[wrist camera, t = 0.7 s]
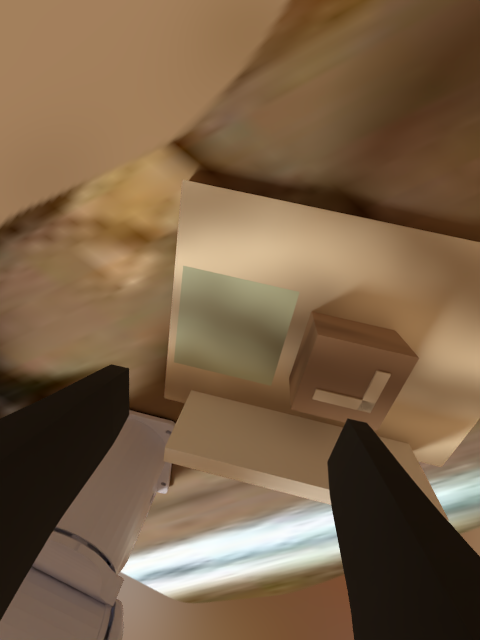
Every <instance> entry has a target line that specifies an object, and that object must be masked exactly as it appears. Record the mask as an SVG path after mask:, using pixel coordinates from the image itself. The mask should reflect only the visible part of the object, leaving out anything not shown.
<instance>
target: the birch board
mask: <svg viewBox="0 0 480 640" xmlns="http://www.w3.org/2000/svg"><path fill="white" fill-rule="evenodd" d="M311 311H312V312H317V313H321V314H325V315H330V316H334V317H339V318H343V319H347V320H352V321H356V322H360V323H365V324H369V325H374V326H378V327H382V328H387V329H391V330H395V331H396V332H397V333H398V334H399V335H400V336H401V337H402V339H403V340H404V341H405V342H406V343H407V344H408V346H409V347H410V348H411V349H412V350H413V351H414V352H415V354H416V355H417V356H418V357H419V360H418V361H417V363H416V365H415V367H414V368H413V370H412V372H411V374H410V375H409V377H408V379H407V380H406V382H405V384H404V386H403V387H402V389H401V391H400V393H399V394H398V396H397V398H396V399H395V401H394V403H393V405H392V406H391V408H390V410H389V412H388V413H387V415H386V417H385V418H384V420H383V422H382V424H381V425H380V427H379V429H378V431H377V430H373V431H374V432H375V433H376V434H377V436H379V437H383V438H387V439H391V440H396V441H400V442H404V443H408V444H409V445H410V447H411V449H412V451H413V453H414V455H415V457H416V458H417V460H418V461H419V462H423V463H427V464H431V465H435V466H439V467H442V466H443V464H444V463H445V462H446V460H447V459H448V458H449V457H450V455H451V454H452V453H453V452H454V450H455V449H456V448H457V447H458V445H459V444H460V443H461V442H462V440H463V439H464V438H465V436H466V435H467V434H468V433H469V431H470V430H471V429H472V428H473V426H474V425H475V424H476V423H477V421H478V420H479V419H480V242H476V241H471V240H467V239H462V238H457V237H452V236H448V235H443V234H438V233H434V232H429V231H424V230H419V229H415V228H410V227H405V226H400V225H396V224H391V223H386V222H381V221H377V220H372V219H367V218H363V217H358V216H353V215H348V214H344V213H339V212H334V211H329V210H325V209H320V208H315V207H311V206H306V205H301V204H296V203H292V202H287V201H282V200H277V199H273V198H268V197H263V196H259V195H254V194H249V193H244V192H240V191H235V190H230V189H225V188H221V187H216V186H211V185H207V184H202V183H197V182H192V181H187V180H182V189H181V201H180V212H179V224H178V236H177V248H176V260H175V272H174V284H173V296H172V308H171V320H170V332H169V343H168V355H167V367H166V379H165V391H164V398H166V399H170V400H174V401H178V402H182V403H186V400H187V398H188V396H189V394H190V392H191V390H192V391H197V392H201V393H205V394H209V395H213V396H217V397H221V398H225V399H229V400H233V401H237V402H241V403H245V404H249V405H253V406H257V407H262V408H266V409H270V410H274V411H278V412H282V413H286V414H290V415H294V416H298V417H302V418H306V419H310V420H314V421H318V422H322V423H327V424H331V425H335V426H339V427H344V425H345V423H344V422H340V421H336V420H332V419H328V418H324V417H320V416H315V415H311V414H307V413H303V412H299V411H295V410H291V405H290V385H289V377H290V374H291V371H292V368H293V365H294V362H295V359H296V356H297V353H298V350H299V347H300V344H301V341H302V338H303V335H304V332H305V329H306V326H307V323H308V320H309V317H310V314H311Z"/></svg>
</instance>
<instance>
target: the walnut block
mask: <svg viewBox="0 0 480 640" xmlns="http://www.w3.org/2000/svg"><path fill="white" fill-rule="evenodd" d="M418 360H419V357H418V356H417V355H416V354H415V352H414V351H413V350H412V349H411V348H410V347H409V346H408V344H407V343H406V342H405V341H404V340H403V339H402V337H401V336H400V335H399V334H398V333H397V332H396V331H395V330H391V329H387V328H382V327H378V326H374V325H369V324H365V323H360V322H356V321H352V320H347V319H343V318H339V317H334V316H330V315H325V314H321V313H317V312H312V311H311V314H310V317H309V320H308V323H307V326H306V329H305V332H304V335H303V338H302V341H301V344H300V347H299V350H298V353H297V356H296V359H295V362H294V365H293V368H292V371H291V374H290V377H289V385H290V405H291V410H295V411H299V412H303V413H307V414H311V415H315V416H320V417H324V418H328V419H332V420H336V421H340V422H344V423H345V422H346V420H347V418H348V419H353V420H357V421H361V422H366V423H367V424H368V425H369V426H370V427H371V428H372V429H373V430H377V431H378V429H379V427H380V425H381V424H382V422H383V420H384V418H385V417H386V415H387V413H388V412H389V410H390V408H391V406H392V405H393V403H394V401H395V399H396V398H397V396H398V394H399V393H400V391H401V389H402V387H403V386H404V384H405V382H406V380H407V379H408V377H409V375H410V374H411V372H412V370H413V368H414V367H415V365H416V363H417V361H418Z"/></svg>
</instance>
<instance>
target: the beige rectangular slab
mask: <svg viewBox="0 0 480 640" xmlns="http://www.w3.org/2000/svg"><path fill="white" fill-rule="evenodd" d="M342 429H343V427H339V426H335V425H331V424H327V423H322V422H318V421H314V420H310V419H306V418H302V417H298V416H294V415H290V414H286V413H282V412H278V411H274V410H270V409H266V408H262V407H257V406H253V405H249V404H245V403H241V402H237V401H233V400H229V399H225V398H221V397H217V396H213V395H209V394H205V393H201V392H197V391H192V390H191V392H190V394H189V396H188V398H187V400H186V403H185V405H184V407H183V409H182V411H181V413H180V416H179V418H178V420H177V422H176V424H175V426H174V429H173V431H172V433H171V435H170V437H169V439H168V442H167V444H166V446H165V450H164V461H165V462H168V463H172V464H176V465H180V466H184V467H188V468H192V469H195V470H199V471H203V472H207V473H211V474H215V475H219V476H222V477H226V478H230V479H234V480H238V481H242V482H246V483H249V484H253V485H257V486H261V487H265V488H269V489H273V490H276V491H280V492H284V493H288V494H292V495H296V496H300V497H303V498H307V499H311V500H315V501H319V502H323V503H327V504H330V505H331V500H330V492H329V481H328V465H327V461H328V459H329V457H330V455H331V453H332V450H333V448H334V446H335V444H336V442H337V440H338V438H339V435H340V433H341V431H342ZM378 437H379V436H378ZM379 438H380V439H381V441H382V442H383V443H384V444H385V446H386V447H387V448H388V449H389V451H390V452H391V453H392V454H393V456H394V457H395V458H396V459H397V461H398V462H399V463H400V464H401V466H402V467H403V468H404V469H405V471H406V472H407V473H408V474H409V476H410V477H411V478H412V479H413V480H414V482H415V483H416V484H417V485H418V487H419V488H420V489H421V490H422V491H423V493H424V494H425V495H426V496H427V497H428V499H429V500H430V501H431V502H432V503H433V504H434V506H435V507H436V508H437V509H438V510H439V512H440V513H441V514H442V515H443V516H444V517H445V518H446V520H447V521H449V520H448V518H447V516H446V514H445V512H444V510H443V508H442V506H441V504H440V502H439V501H438V499H437V497H436V495H435V493H434V491H433V489H432V487H431V485H430V483H429V481H428V479H427V478H426V476H425V474H424V472H423V470H422V468H421V466H420V464H419V462H418V460H417V458H416V457H415V455H414V453H413V451H412V449H411V447H410V445H409V444H408V443H404V442H400V441H396V440H391V439H387V438H383V437H379Z"/></svg>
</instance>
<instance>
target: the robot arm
mask: <svg viewBox="0 0 480 640" xmlns="http://www.w3.org/2000/svg"><path fill="white" fill-rule="evenodd" d="M174 426H175V423H174V422H173V421H170V420H166V419H162V418H159V417H155V416H151V415H147V414H143V413H139V412H135V411H131V410H129V368H125V367H120V366H116V365H109V366H107V367H105V368H103V369H101V370H99V371H97V372H95V373H93V374H91V375H89V376H87V377H85V378H83V379H81V380H79V381H77V382H75V383H73V384H72V385H70V386H68V387H66V388H64V389H62V390H60V391H58V392H56V393H54V394H52V395H50V396H48V397H46V398H44V399H42V400H40V401H38V402H35V403H33V404H31V405H29V406H27V407H25V408H22V409H20V410H18V411H16V412H14V413H12V414H10V415H7V416H5V417H3V418H1V419H0V640H122V637H123V628H124V627H123V625H124V624H123V605H122V602H121V601H120V600H118V599H117V595H118V593H119V590H120V588H121V586H122V583H123V581H124V579H123V578H122V577H120V576H118V574H119V573H120V571H121V570H122V569H123V567H124V566H125V564H126V562H127V561H128V559H129V556H130V554H131V552H132V549H133V547H134V545H135V542H136V540H137V538H138V535H139V533H140V530H141V528H142V526H143V523H144V521H145V518H146V516H147V514H148V511H149V509H150V507H151V504H152V502H153V499H154V497H155V495H156V492H160V493H167V492H168V489H169V483H170V475H171V466H172V463H168V462H165V461H164V450H165V446H166V444H167V442H168V439H169V437H170V435H171V433H172V431H173V429H174ZM327 465H328V481H329V492H330V500H331V506H332V511H333V516H334V522H335V527H336V532H337V537H338V543H339V548H340V553H341V558H342V563H343V569H344V574H345V579H346V584H347V589H348V596H349V602H350V608H351V614H352V624H353V632H354V640H480V556H479V555H478V554H477V553H476V552H475V551H474V550H473V549H472V548H471V547H470V546H469V544H468V543H467V542H466V541H465V540H464V539H463V538H462V536H461V535H460V534H459V533H458V532H457V531H456V530H455V529H454V527H453V526H452V525H451V524H450V523H449V522H448V521H447V520H446V518H445V517H444V516H443V515H442V514H441V513H440V512H439V510H438V509H437V508H436V507H435V506H434V504H433V503H432V502H431V501H430V500H429V499H428V497H427V496H426V495H425V494H424V493H423V491H422V490H421V489H420V488H419V487H418V485H417V484H416V483H415V482H414V480H413V479H412V478H411V477H410V476H409V474H408V473H407V472H406V471H405V469H404V468H403V467H402V466H401V464H400V463H399V462H398V461H397V459H396V458H395V457H394V456H393V454H392V453H391V452H390V451H389V449H388V448H387V447H386V446H385V444H384V443H383V442H382V441H381V439H380V438H379V437H378V436H377V434H376V433H375V432H374V431H373V429H372V428H371V427H370V426H369V425H368V424H367V423H366V422H361V421H357V420H353V419H348V418H347V420H346V422H345V425H344V427H343V429H342V431H341V433H340V435H339V438H338V440H337V442H336V444H335V446H334V448H333V450H332V453H331V455H330V457H329V459H328V461H327Z"/></svg>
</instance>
